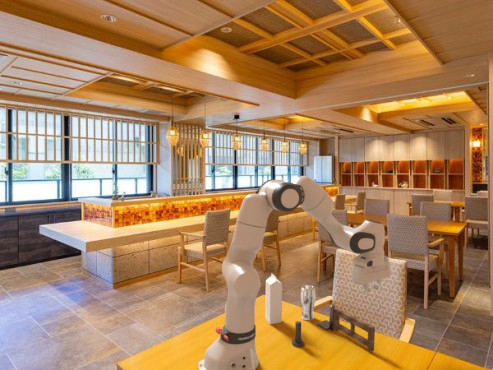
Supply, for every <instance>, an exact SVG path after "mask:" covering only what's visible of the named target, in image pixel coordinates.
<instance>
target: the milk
mask: <svg viewBox="0 0 493 370" xmlns="http://www.w3.org/2000/svg"><path fill="white" fill-rule="evenodd" d="M264 301H265V303H264V304H265V305H264V309H265V310H264V313H265V315H264V317H265V321H267V322H268V324H269V325H275V324H281V323H282V322H283V321H282V320H283V319H282V318H283V317H282V315H283V313H282V312H283V283H282V282H281V281H280V280H279V279H278V278H277V276H275V274H273V273H272V272H271V275H270V276H269V277H268V278H267V279H266V280H265V299H264Z"/></svg>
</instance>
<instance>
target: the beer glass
mask: <svg viewBox="0 0 493 370" xmlns="http://www.w3.org/2000/svg"><path fill="white" fill-rule="evenodd" d="M315 303H316V287H315V286H313V285H311V284H304V285H302V286H301V288H300V304H301V319H302V320H303V321H306V322H307V321H313V320H315V315H314V314H315V313H314V309H315Z"/></svg>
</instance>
